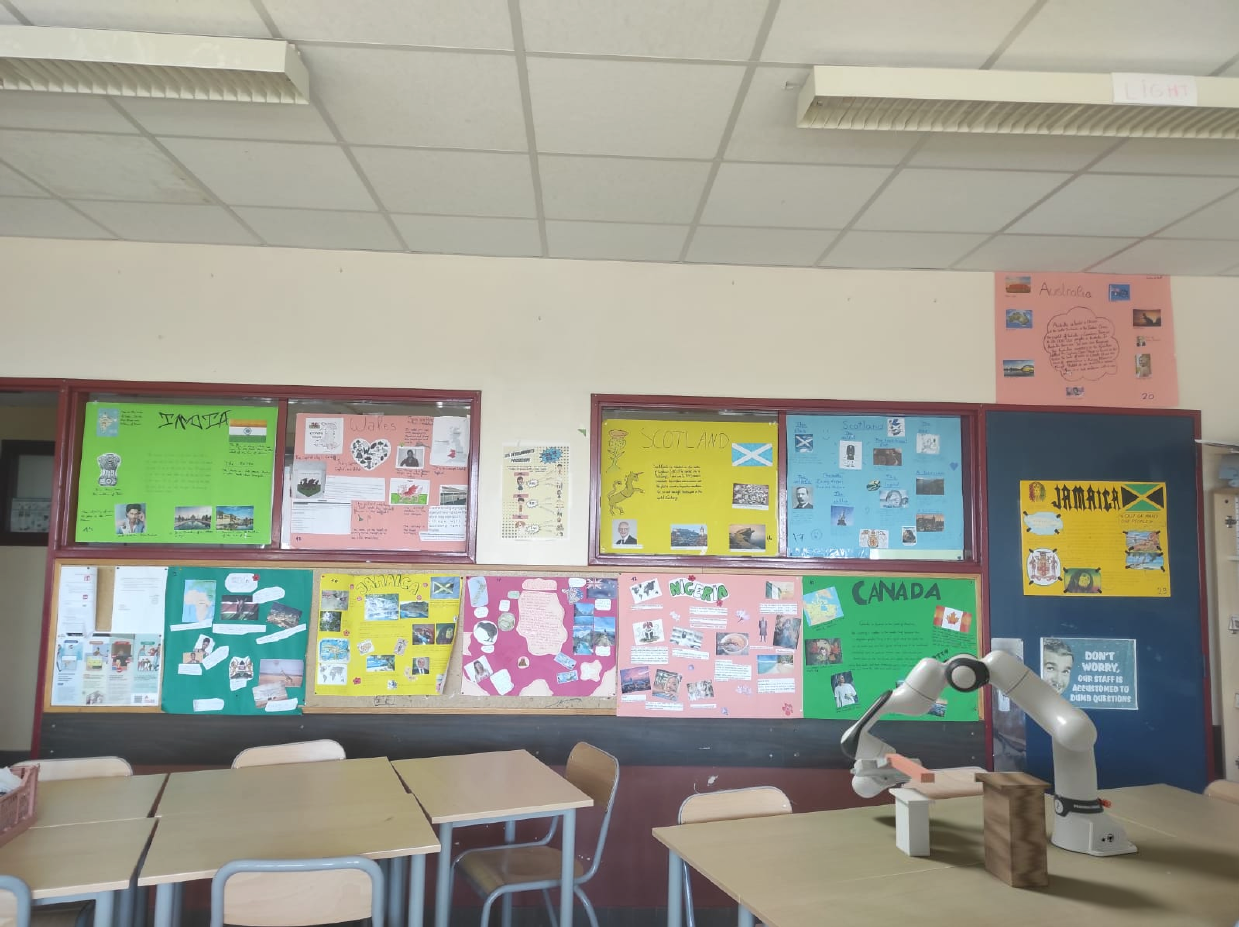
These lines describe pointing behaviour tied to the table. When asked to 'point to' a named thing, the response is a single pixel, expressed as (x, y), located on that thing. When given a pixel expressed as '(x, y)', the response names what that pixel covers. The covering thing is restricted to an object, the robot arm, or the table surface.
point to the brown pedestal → (1015, 827)
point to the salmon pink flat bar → (911, 768)
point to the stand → (912, 821)
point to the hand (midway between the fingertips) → (897, 759)
